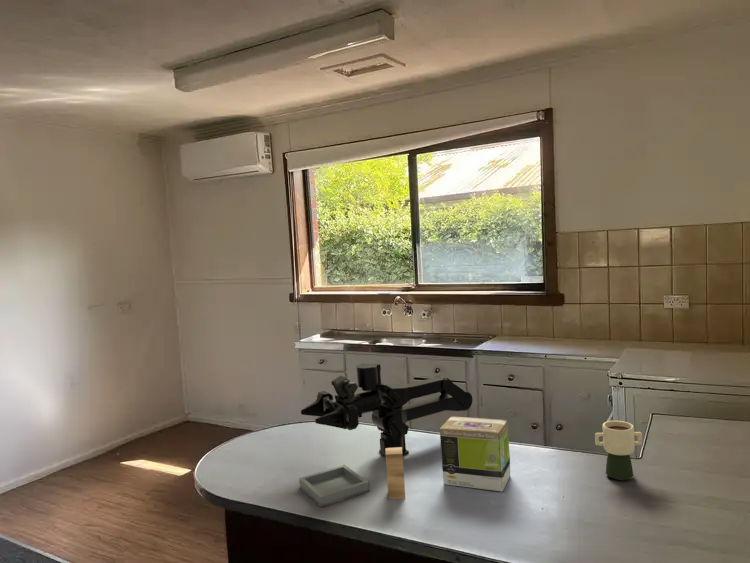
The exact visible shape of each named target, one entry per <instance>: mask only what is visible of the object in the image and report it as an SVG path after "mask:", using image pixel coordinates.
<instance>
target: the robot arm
mask: <svg viewBox="0 0 750 563" xmlns="http://www.w3.org/2000/svg"><path fill="white" fill-rule="evenodd" d="M381 370H382V368H381V363H359V364H357V365H356V378H357V379H356V381H357V382H354V381H350V379H348V378H347V377H345V376H343V375H339V376H338V377H336V378H334V379H333V380H331V383H330V384H331V385H332V386H333V388H334V391H335V395H334V397H333V395H332V394H331V393H329V392H327V391H325V390H322V391H318V392H317V396H316V399H315V401H314V402H312V403H311V404H309V405H308V406H305V407H304V408H302V409H301V410H300V415H303V416H309V417H310V416H312V417H317V418H315V420H314V421H315V422H314V423H315V424H317V425H323V426H329V427H334V428H339V429H343V430H347V431H348V430H349V431H352V430H353V431H354V430H356V429H357V428H358V427H359V425H360V424H359V418H362V417H363V415H364V414H369V413H371V412H372V414H371V421H372V423H373V425H375V426H376V428H377V431H378V430H379V431H381V432H380V438H379V450H378V453H380V454H382V455H383V456H384V457H386V451H385V448H395V447H402V455H403V456H404V455H407V454H409V453H410V451H409V450H408V449H407V445H406V435H408V432H409V427H410V426H409V425H407V424H406V423H407V422H410V421H413V420H417V419H421V418H425V417H428V416H431V415H435V414H439V413H442V412H445V411H451V412H465V411H468V410H470V409H471V406H472V404H473V396H472V394H471V393H470V391H466V390H464V389H462V388H461V387H459V386H458V385H456V384H455V383H454V382H453V381H452V380H451V379H450V378H449V377H445V376H441V375H437V376H435V377H431V378H427V379H422V380H417V381H413V382H410V383H406V384H404V383H403V384H401V383H400V384H397V383H383V382H382V377H381ZM358 388H360V389H361V390H362V391H363V392H359V393H356V391H357V389H358ZM437 393H439V396H436V397H431V398H429V399H423V400H420V401H416V402H413V403H409V401H412V400H414V399H418V398H421V397H426V396H429V395H435V394H437ZM334 399H335V401H334Z"/></svg>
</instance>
